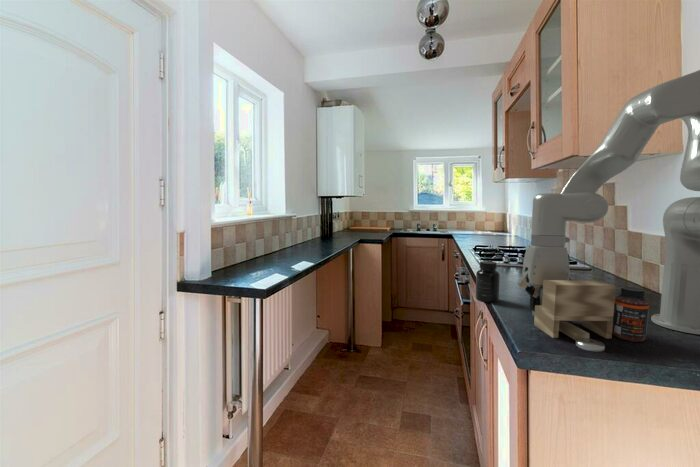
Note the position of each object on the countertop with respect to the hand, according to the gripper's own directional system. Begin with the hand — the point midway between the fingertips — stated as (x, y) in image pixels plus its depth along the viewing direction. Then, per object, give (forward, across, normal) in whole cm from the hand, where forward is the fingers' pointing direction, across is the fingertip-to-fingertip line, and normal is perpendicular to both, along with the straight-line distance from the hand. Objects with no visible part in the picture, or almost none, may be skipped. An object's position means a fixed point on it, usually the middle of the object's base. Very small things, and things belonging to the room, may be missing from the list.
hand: (543, 310), depth 88 cm
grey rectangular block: (+2, 0, +7) cm, 7 cm away
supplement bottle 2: (+2, -12, +12) cm, 17 cm away
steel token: (+2, 0, +18) cm, 18 cm away
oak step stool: (+2, -1, +9) cm, 9 cm away
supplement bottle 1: (+2, +8, -17) cm, 19 cm away
